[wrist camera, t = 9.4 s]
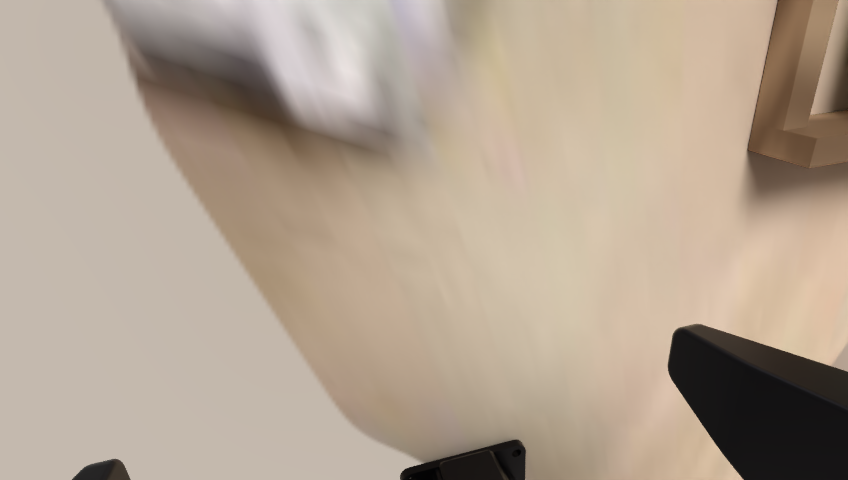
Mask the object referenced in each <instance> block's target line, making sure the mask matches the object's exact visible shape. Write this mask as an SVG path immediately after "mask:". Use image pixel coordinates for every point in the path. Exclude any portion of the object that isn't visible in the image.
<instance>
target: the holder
mask: <svg viewBox="0 0 848 480" xmlns="http://www.w3.org/2000/svg"><path fill="white" fill-rule="evenodd" d="M838 1H839V0H779V1H778V6H777V10H776V15H775V20H774V25H773V30H772V35H771V40H770V44H769V49H768V54H767V59H766V64H765V69H764V74H763V78H762V83H761V88H760V93H759V98H758V103H757V107H756V112H755V117H754V122H753V127H752V132H751V137H750V141H749V146H748V150H749V151H752V152H756V153H759V154H762V155H766V156H769V157H773V158H776V159H779V160H783V161H786V162H789V163H793V164H796V165H800V166H803V167H806V168H814V167H820V166H826V165H832V164H838V163H844V162H848V110H844V111H836V112H829V113H822V114H815V115H810V112H811V108H812V104H813V100H814V96H815V92H816V88H817V84H818V80H819V76H820V72H821V68H822V65H823V61H824V57H825V53H826V49H827V45H828V41H829V37H830V33H831V29H832V25H833V21H834V17H835V13H836V9H837V5H838Z"/></svg>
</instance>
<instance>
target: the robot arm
mask: <svg viewBox="0 0 848 480" xmlns="http://www.w3.org/2000/svg"><path fill="white" fill-rule="evenodd" d="M668 371H669V375H670V377H671V379H672V381H673V382H674V384H675V385H676V387H677V388H678V390H679V391H680V393H681V394H682V395H683V397H684V398H685V400H686V401H687V403H688V404H689V406H690V407H691V409H692V410H693V412H694V413H695V414H696V416H697V417H698V419H699V420H700V422H701V423H702V425H703V426H704V428H705V429H706V431H707V432H708V433H709V435H710V436H711V438H712V439H713V441H714V442H715V444H716V445H717V446H718V448H719V449H720V451H721V452H722V453H723V455H724V456H725V457H726V458H727V460H728V461H729V462H730V464H731V465H732V466H733V467H734V469H735V470H736V471H737V472H738V473H739V475H740V476H741V477H742V478H743V480H848V372H847V371H844V370H841V369H838V368H834V367H832V366H828V365H825V364H822V363H819V362H816V361H813V360H810V359H807V358H804V357H801V356H797V355H794V354H791V353H788V352H785V351H782V350H779V349H776V348H773V347H770V346H766V345H763V344H760V343H757V342H754V341H751V340H748V339H745V338H742V337H739V336H735V335H732V334H729V333H726V332H723V331H720V330H717V329H714V328H711V327H708V326H704V325H701V324H693V325H689V326H684V327H680V328H678V329H676V330H675V332H674V333H673V336H672V342H671V348H670V354H669V360H668ZM525 454H526V450H525V447H524V446H523V444H522V442H521V441H520V440H512V441H508V442H504V443H501V444H497V445H493V446H489V447H485V448H481V449H478V450H474V451H470V452H466V453H462V454H459V455H455V456H451V457H447V458H443V459H440V460H436V461H432V462H428V463H424V464H421V465H417V466H413V467H409V468H407V469H405V470H404V471H402V473H401V475H400V480H525ZM409 478H410V479H409ZM72 480H130V478H129V475H128V473H127V470H126V468H125V466H124V464H123V463H122V462H121V461H120V460H118V459H111V460H107V461H103V462H99V463H94V464H91V465H88V466H86V467H84V468H83V469H82V470H81V471H80V472H79V473H78V474H77V475H76V476H75V477H74V478H73V479H72Z"/></svg>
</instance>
